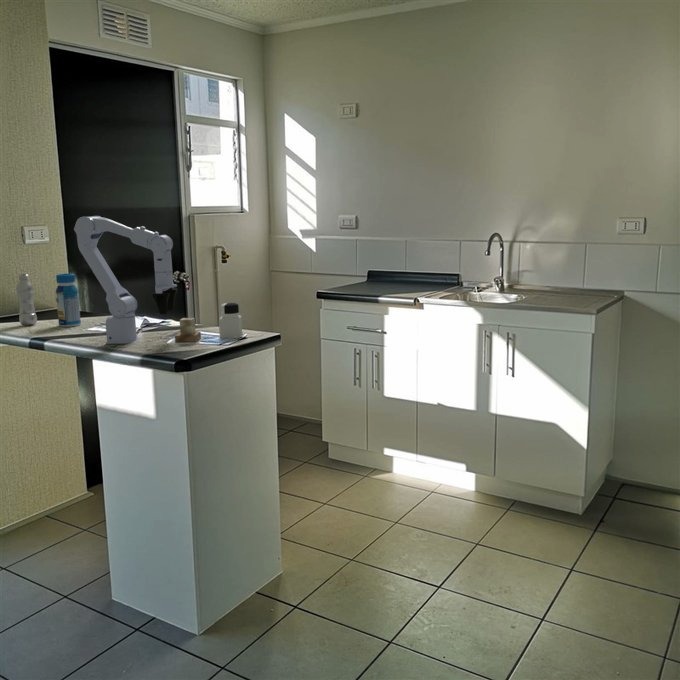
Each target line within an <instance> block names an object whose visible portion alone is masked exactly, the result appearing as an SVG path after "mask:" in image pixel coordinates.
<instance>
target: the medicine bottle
mask: <svg viewBox="0 0 680 680" xmlns="http://www.w3.org/2000/svg"><path fill="white" fill-rule="evenodd" d="M239 307H240V306H239V304H238V303H236V302H225V303H222V304H221V305H220V311H221V312H220V315H221V316H220V318H219V319H218V328H219V329H218V331H219V338H224V339H226V338H229V339H230V338H241V337H242V335H243V321H242V319H243V318H242V315H240V308H239Z"/></svg>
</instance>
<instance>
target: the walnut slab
mask: <svg viewBox="0 0 680 680" xmlns="http://www.w3.org/2000/svg"><path fill="white" fill-rule="evenodd" d="M201 332H202V331H195V333H194V334H192V335H181V333H180V331H179V332H178V333H176V334H175V335H174V339H175V343H196V342H197V341H198V340H200V339H201V337H202V334H201Z"/></svg>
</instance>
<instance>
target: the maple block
mask: <svg viewBox="0 0 680 680" xmlns="http://www.w3.org/2000/svg"><path fill="white" fill-rule="evenodd" d="M195 319H196V317H182V318H180V319H179V328H180V329H179V332H180V333H181V335H192V334H194V333H195V332H196V320H195Z"/></svg>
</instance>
